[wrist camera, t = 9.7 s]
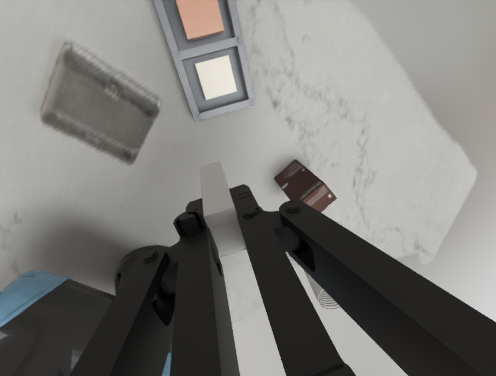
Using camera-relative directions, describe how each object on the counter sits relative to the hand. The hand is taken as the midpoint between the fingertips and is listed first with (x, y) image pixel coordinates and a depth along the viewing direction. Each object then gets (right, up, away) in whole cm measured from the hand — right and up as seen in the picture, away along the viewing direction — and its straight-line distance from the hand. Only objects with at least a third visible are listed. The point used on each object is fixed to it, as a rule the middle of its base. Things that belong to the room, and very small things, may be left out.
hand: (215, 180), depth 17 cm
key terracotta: (-4, +22, +13) cm, 26 cm away
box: (+11, +2, +30) cm, 32 cm away
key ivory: (-3, +16, +18) cm, 24 cm away
